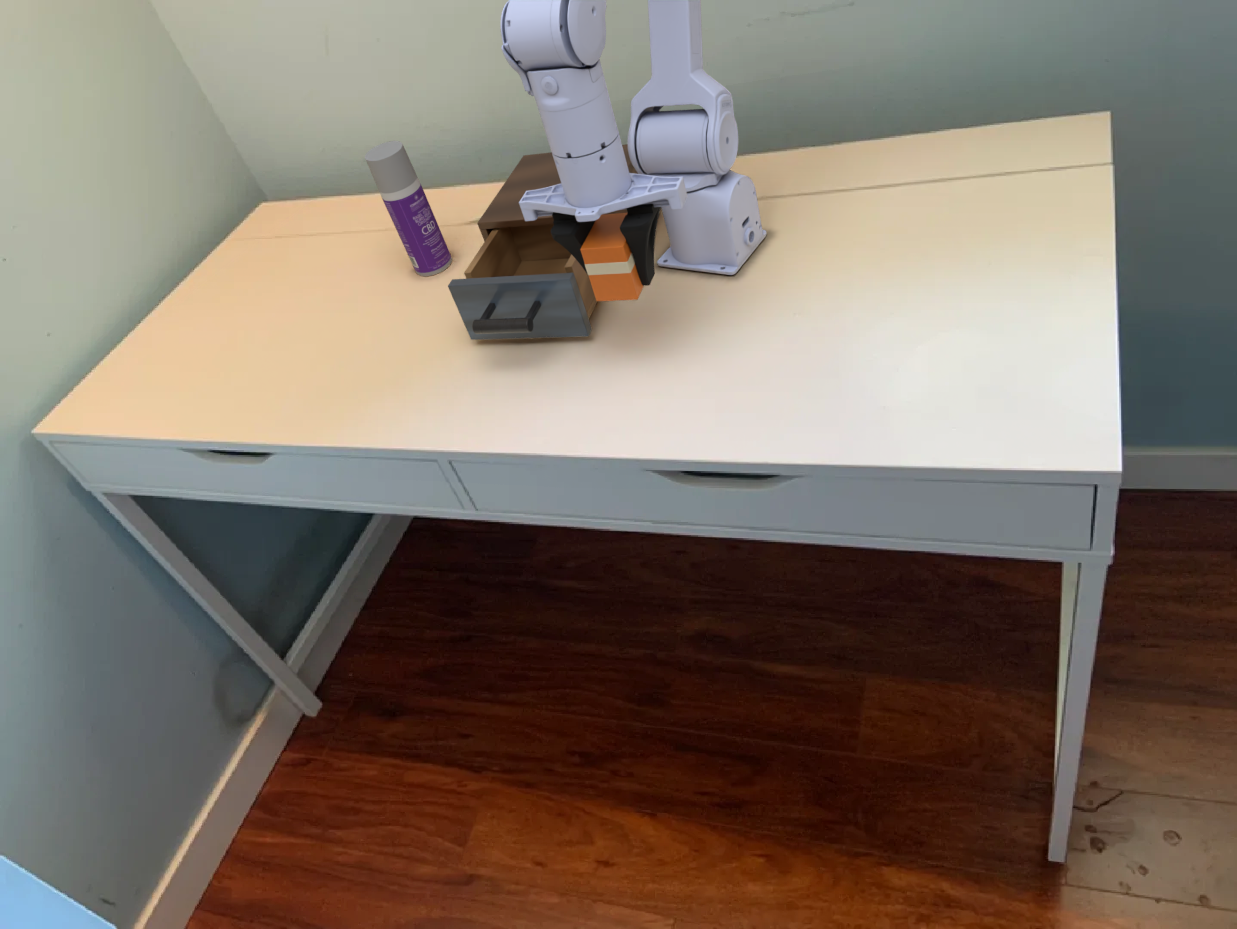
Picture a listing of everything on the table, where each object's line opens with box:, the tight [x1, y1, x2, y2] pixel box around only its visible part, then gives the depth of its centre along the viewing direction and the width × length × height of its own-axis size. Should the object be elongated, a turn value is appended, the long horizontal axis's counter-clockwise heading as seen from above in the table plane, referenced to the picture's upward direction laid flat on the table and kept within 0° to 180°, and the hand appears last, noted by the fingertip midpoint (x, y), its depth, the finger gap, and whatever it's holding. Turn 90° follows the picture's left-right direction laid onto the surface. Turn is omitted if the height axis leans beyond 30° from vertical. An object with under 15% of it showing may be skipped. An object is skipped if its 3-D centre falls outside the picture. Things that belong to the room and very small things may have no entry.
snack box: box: [580, 213, 645, 302], centre depth 86 cm, size 6×4×6 cm
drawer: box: [447, 224, 598, 341], centre depth 99 cm, size 18×13×7 cm
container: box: [364, 140, 453, 277], centre depth 111 cm, size 5×5×15 cm
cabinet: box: [477, 143, 638, 243], centre depth 107 cm, size 15×15×9 cm
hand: (624, 280), depth 87 cm, fingers closed on snack box, 4 cm apart
